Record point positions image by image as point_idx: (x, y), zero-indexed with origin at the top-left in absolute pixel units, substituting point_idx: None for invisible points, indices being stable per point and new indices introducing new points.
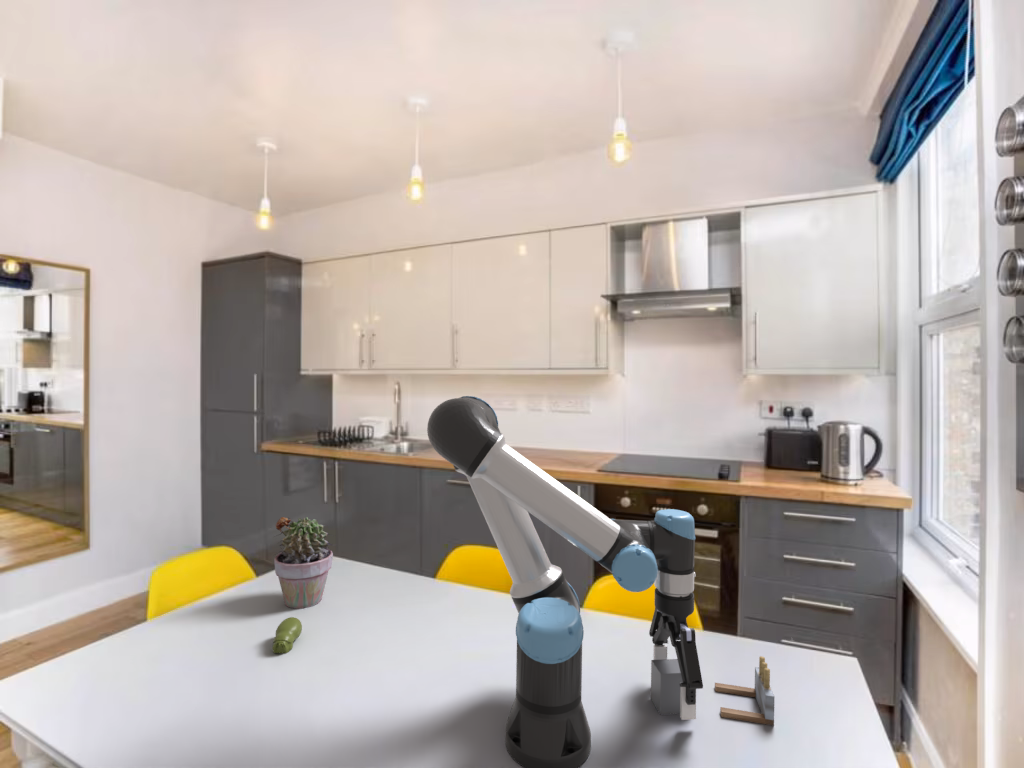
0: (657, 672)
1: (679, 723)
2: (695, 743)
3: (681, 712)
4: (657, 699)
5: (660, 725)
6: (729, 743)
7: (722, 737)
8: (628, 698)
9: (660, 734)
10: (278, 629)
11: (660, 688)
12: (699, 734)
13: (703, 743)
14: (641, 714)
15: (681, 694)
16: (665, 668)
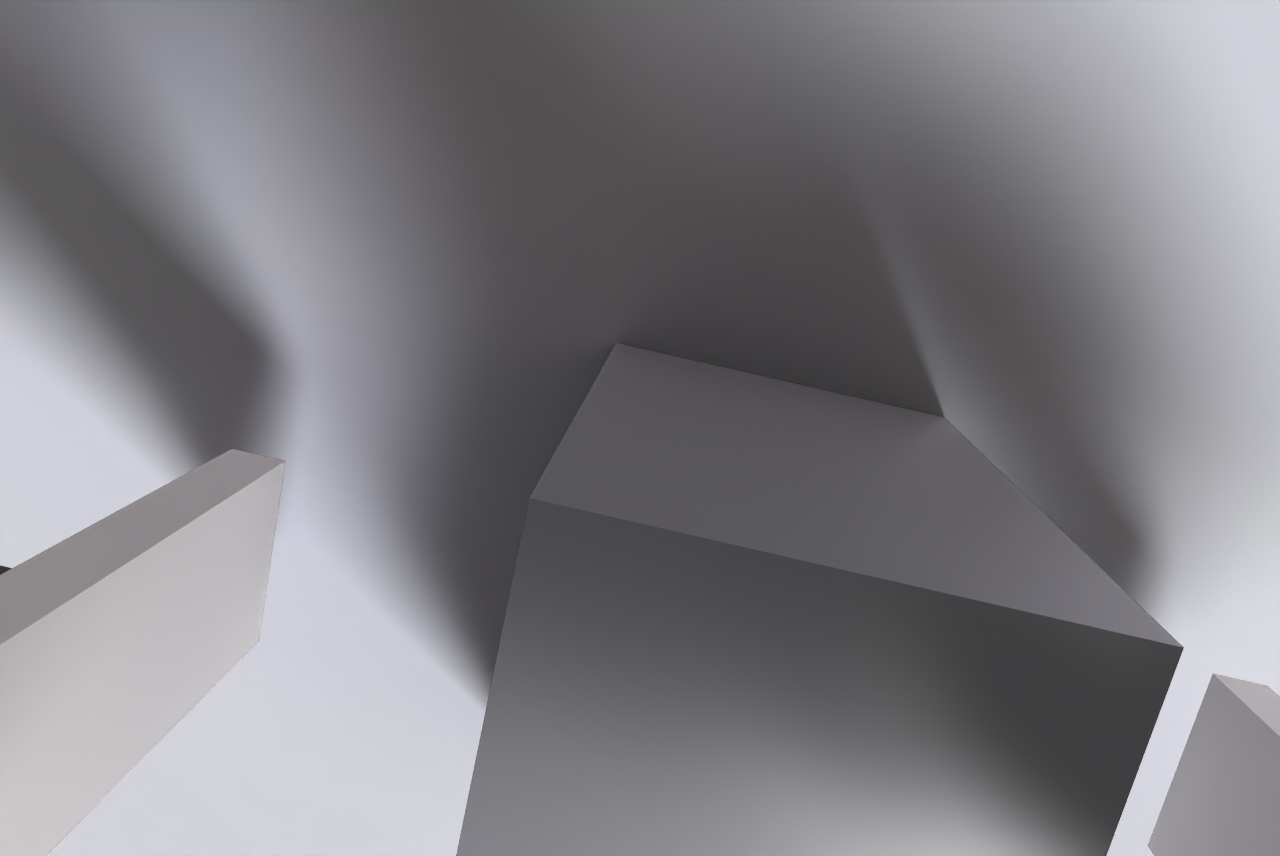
0: (743, 520)
1: (409, 473)
2: (67, 432)
3: (203, 477)
4: (711, 390)
5: (433, 224)
6: None
7: None
8: (1070, 116)
9: (283, 123)
10: None
11: (579, 417)
12: None
13: (53, 515)
14: (696, 102)
15: (39, 571)
16: (703, 744)
